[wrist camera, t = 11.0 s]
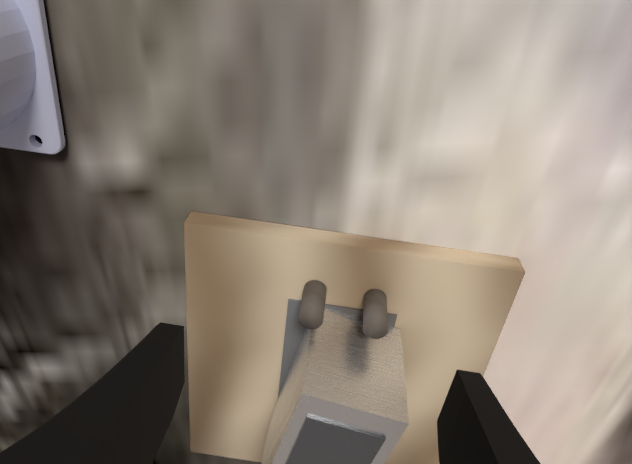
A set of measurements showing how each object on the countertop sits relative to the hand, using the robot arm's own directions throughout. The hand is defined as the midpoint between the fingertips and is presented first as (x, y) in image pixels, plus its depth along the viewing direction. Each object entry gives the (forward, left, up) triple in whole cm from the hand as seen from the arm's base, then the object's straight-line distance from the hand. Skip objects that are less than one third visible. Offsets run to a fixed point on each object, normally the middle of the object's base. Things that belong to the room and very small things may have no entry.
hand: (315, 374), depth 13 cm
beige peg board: (+1, -8, -9) cm, 12 cm away
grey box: (+1, -8, -8) cm, 11 cm away
